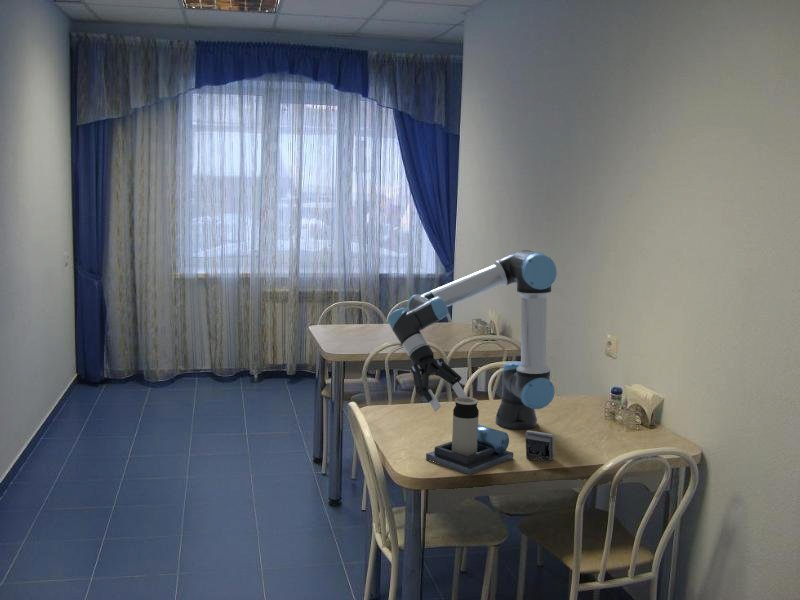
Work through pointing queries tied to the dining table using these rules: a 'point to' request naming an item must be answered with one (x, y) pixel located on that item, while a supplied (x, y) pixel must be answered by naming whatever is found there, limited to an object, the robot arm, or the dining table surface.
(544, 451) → the electrical switch
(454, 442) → the travel mug
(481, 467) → the base
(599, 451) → the dining table surface
